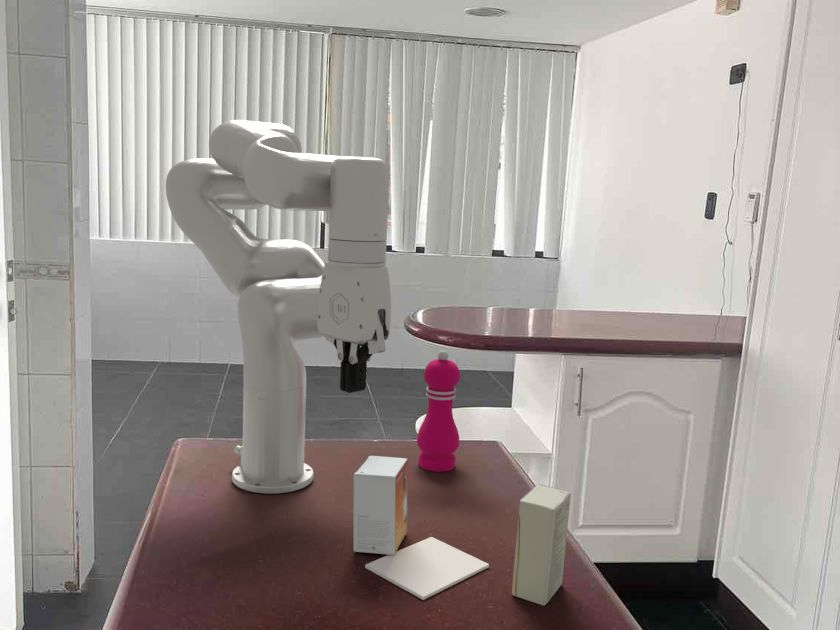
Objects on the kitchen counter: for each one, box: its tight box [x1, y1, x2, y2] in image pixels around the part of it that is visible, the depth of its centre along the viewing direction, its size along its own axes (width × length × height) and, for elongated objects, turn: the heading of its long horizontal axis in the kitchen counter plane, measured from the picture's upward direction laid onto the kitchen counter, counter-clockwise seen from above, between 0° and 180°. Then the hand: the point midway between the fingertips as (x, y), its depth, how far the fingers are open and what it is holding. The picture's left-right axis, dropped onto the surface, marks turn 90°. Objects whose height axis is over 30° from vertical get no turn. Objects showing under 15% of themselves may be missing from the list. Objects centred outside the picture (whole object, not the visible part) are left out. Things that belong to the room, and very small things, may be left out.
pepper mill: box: [416, 349, 461, 473], centre depth 132 cm, size 7×7×20 cm
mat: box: [364, 536, 490, 601], centre depth 99 cm, size 10×12×1 cm
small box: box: [352, 455, 409, 556], centre depth 104 cm, size 8×6×10 cm
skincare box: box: [511, 483, 572, 607], centre depth 94 cm, size 6×4×12 cm
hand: (352, 389), depth 106 cm, fingers closed
